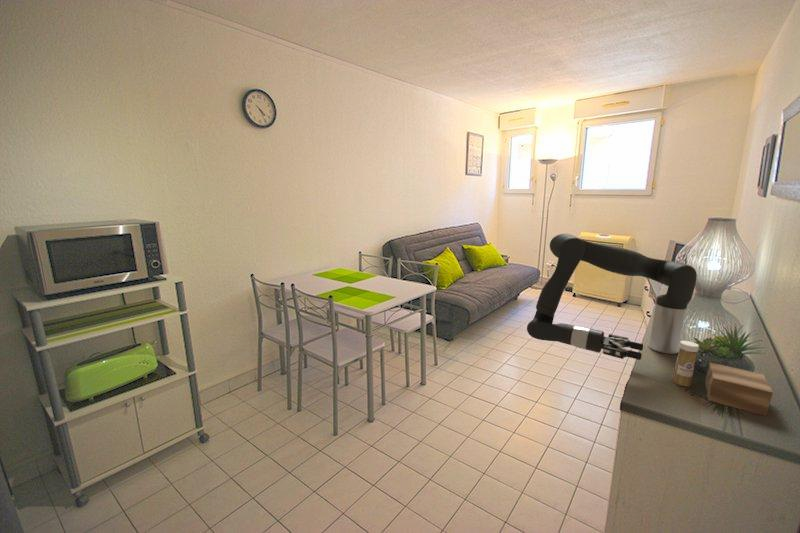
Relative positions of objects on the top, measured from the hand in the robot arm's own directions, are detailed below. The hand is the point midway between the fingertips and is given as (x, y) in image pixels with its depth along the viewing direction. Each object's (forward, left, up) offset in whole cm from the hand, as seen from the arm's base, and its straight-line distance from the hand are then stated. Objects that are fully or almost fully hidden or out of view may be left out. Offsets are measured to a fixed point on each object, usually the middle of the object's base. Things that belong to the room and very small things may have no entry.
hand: (642, 351), depth 117 cm
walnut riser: (+1, +23, -7) cm, 24 cm away
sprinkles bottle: (0, +11, -7) cm, 14 cm away
